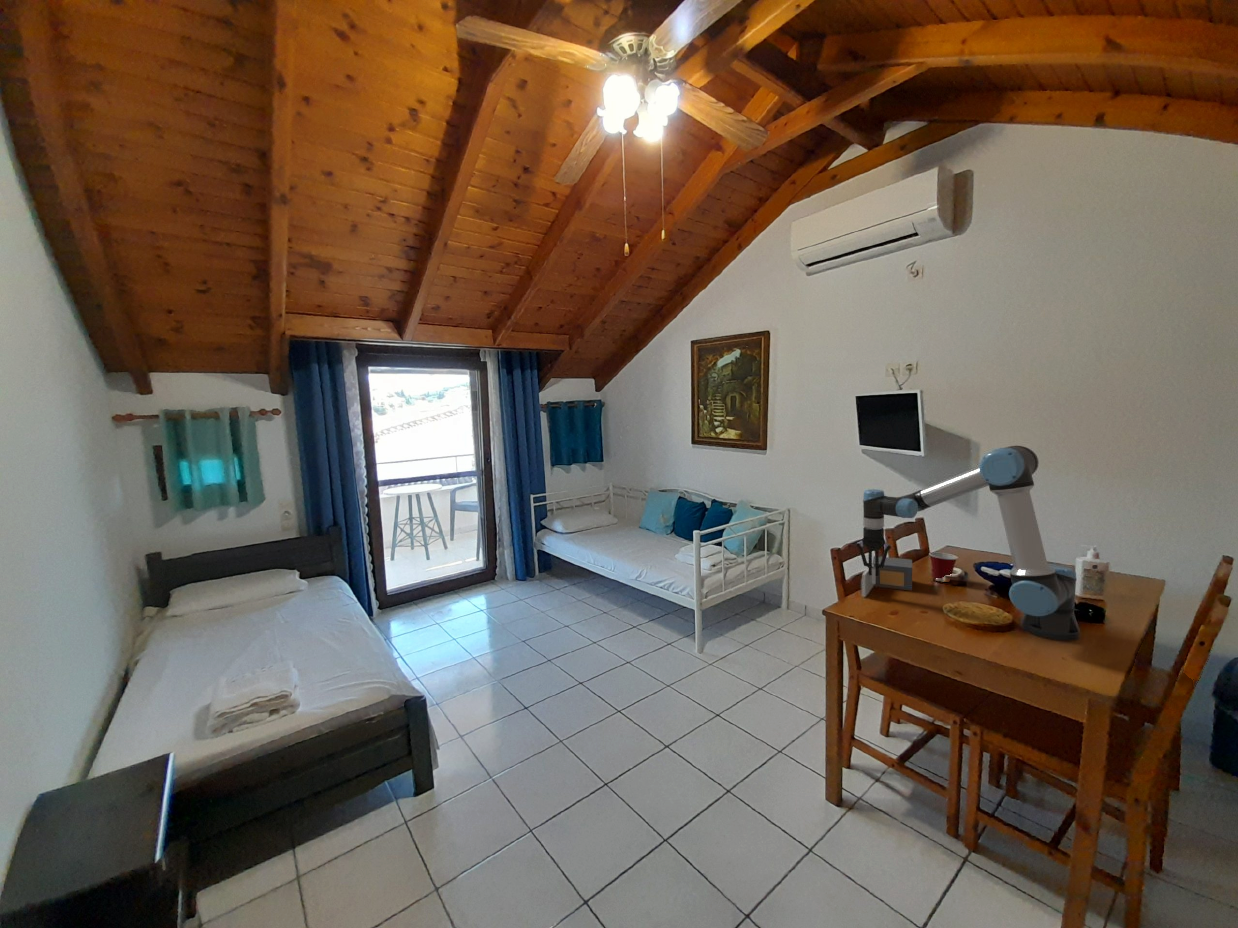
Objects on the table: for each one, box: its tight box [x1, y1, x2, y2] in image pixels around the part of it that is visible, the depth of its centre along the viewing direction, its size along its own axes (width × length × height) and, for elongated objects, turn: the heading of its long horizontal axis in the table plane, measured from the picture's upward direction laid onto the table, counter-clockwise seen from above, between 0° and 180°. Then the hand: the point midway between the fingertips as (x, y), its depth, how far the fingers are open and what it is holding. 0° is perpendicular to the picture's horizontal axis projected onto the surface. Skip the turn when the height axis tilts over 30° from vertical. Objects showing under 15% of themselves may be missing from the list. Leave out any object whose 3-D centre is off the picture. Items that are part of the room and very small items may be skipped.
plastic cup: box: [928, 551, 959, 579], centre depth 218 cm, size 11×11×12 cm
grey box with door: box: [872, 555, 913, 592], centre depth 218 cm, size 14×15×10 cm
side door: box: [860, 564, 875, 598], centre depth 210 cm, size 2×16×10 cm, turn 141°
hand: (873, 582), depth 205 cm, fingers closed
